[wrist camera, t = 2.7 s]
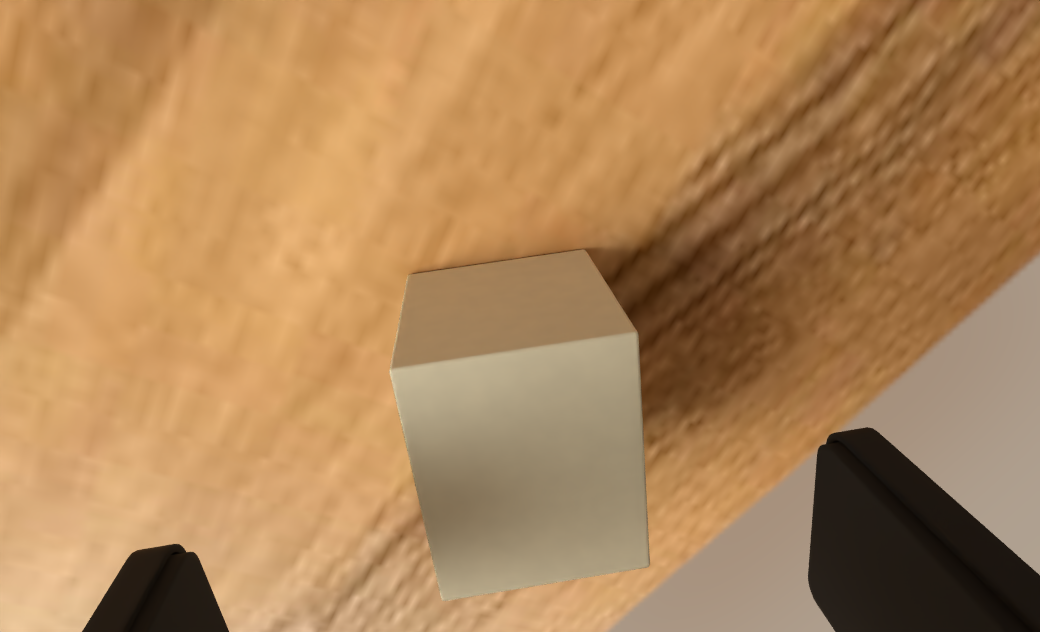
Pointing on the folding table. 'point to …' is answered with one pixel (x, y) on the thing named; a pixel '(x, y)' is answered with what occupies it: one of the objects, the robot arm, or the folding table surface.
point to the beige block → (522, 423)
